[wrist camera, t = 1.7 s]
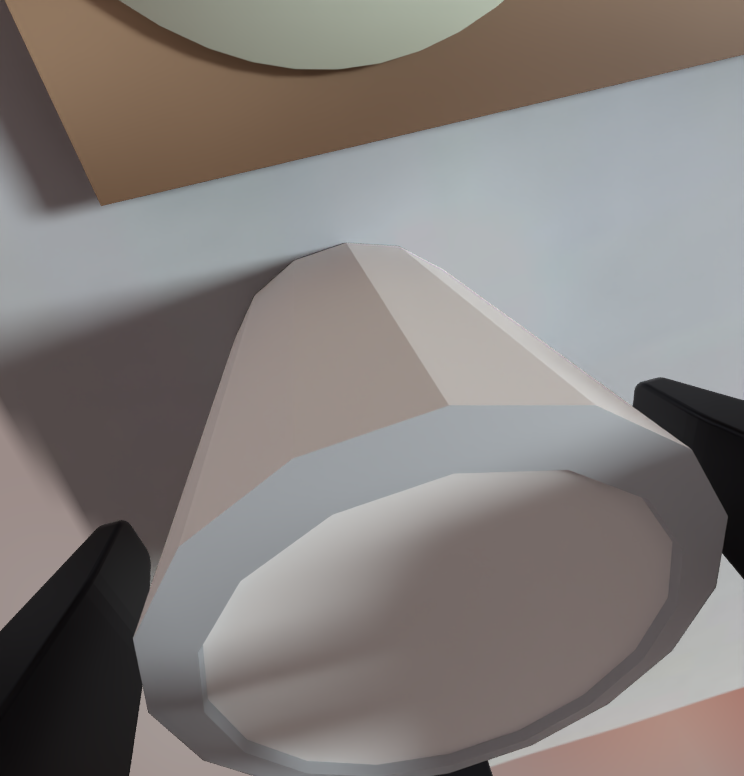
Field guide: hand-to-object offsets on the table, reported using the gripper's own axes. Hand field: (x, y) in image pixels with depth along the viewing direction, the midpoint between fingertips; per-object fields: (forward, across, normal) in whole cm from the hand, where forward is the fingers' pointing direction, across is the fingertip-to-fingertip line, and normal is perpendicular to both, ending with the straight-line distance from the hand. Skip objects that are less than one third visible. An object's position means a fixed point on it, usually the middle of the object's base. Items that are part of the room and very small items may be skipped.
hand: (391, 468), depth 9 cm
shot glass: (+4, 0, 0) cm, 4 cm away
